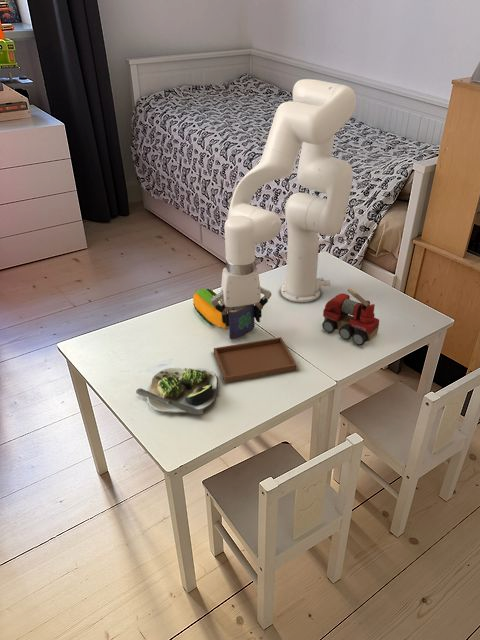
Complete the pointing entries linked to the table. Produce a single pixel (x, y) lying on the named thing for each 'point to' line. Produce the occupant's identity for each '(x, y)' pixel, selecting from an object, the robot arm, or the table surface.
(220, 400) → the table surface
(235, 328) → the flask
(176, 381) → the avocado toast plate
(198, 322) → the table surface
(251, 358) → the tray
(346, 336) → the toy fire truck
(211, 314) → the corn
